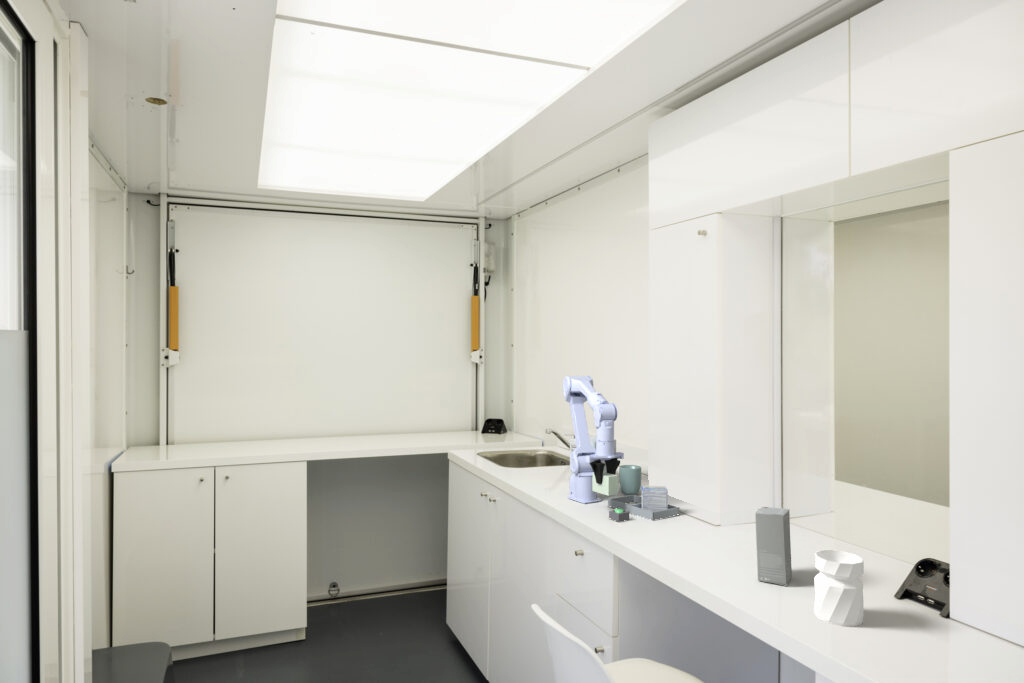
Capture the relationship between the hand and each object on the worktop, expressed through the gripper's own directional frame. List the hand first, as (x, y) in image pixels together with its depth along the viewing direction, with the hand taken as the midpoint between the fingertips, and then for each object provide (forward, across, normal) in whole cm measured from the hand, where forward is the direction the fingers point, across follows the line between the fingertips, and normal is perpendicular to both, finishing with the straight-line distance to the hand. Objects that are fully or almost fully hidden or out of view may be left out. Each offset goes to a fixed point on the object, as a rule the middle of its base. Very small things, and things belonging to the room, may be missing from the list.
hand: (604, 482), depth 206 cm
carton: (+3, 0, 0) cm, 3 cm away
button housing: (+9, -2, -10) cm, 13 cm away
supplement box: (+10, +24, +35) cm, 44 cm away
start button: (+9, -2, -9) cm, 13 cm away
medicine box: (+10, +12, -10) cm, 18 cm away
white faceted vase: (+9, -14, -86) cm, 88 cm away
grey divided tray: (+9, +12, -5) cm, 16 cm away
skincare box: (+10, -6, -66) cm, 67 cm away
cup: (+10, +24, +14) cm, 30 cm away
